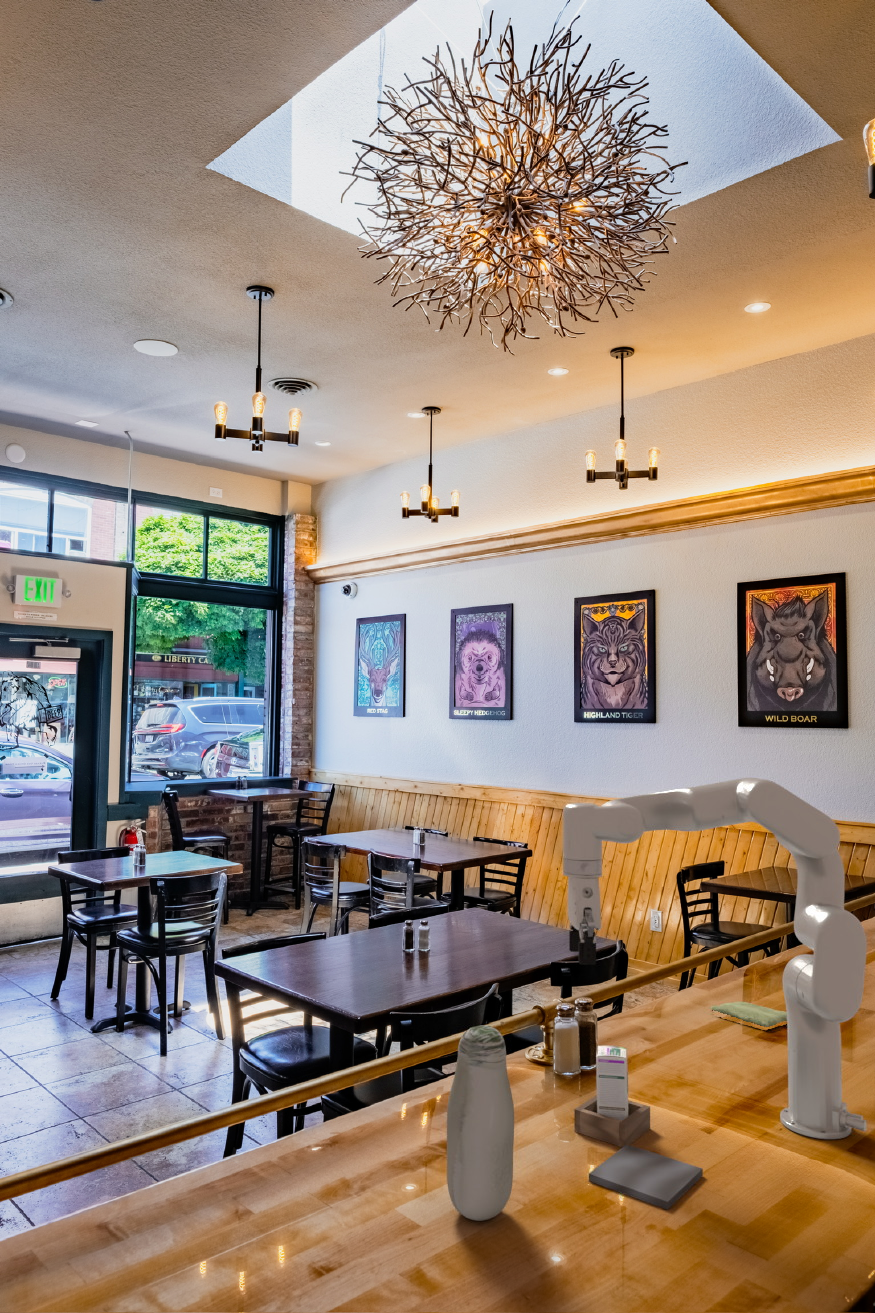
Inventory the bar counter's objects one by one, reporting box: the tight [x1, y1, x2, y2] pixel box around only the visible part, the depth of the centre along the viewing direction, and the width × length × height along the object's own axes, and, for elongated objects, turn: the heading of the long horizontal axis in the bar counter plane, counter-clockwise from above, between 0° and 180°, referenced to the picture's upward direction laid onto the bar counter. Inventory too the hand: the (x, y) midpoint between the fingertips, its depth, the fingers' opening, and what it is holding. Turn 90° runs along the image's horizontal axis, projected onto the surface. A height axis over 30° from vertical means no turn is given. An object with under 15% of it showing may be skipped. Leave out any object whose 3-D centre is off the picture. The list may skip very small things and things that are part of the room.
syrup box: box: [595, 1045, 629, 1121], centre depth 170 cm, size 6×6×14 cm
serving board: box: [588, 1144, 704, 1210], centre depth 152 cm, size 14×14×1 cm
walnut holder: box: [573, 1094, 651, 1148], centre depth 170 cm, size 10×10×4 cm
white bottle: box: [446, 1024, 515, 1222], centre depth 141 cm, size 10×10×28 cm
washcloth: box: [709, 1001, 787, 1027], centre depth 236 cm, size 13×18×3 cm
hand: (582, 957), depth 174 cm, fingers open, 9 cm apart
